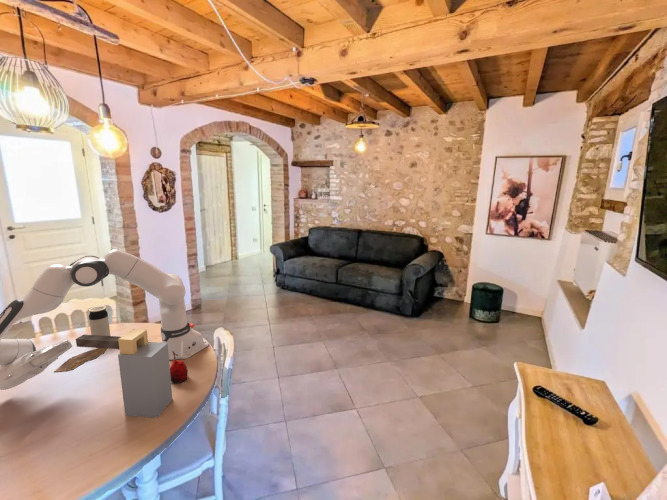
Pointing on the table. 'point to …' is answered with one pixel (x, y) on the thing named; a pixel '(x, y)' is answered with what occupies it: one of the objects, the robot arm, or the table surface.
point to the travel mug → (99, 321)
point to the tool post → (144, 374)
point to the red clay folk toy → (178, 370)
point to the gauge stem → (98, 341)
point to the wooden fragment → (80, 359)
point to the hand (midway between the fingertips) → (57, 349)
